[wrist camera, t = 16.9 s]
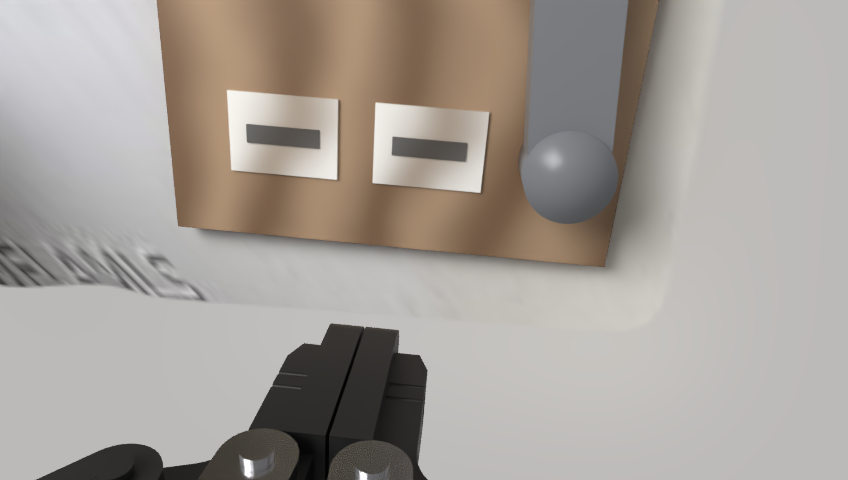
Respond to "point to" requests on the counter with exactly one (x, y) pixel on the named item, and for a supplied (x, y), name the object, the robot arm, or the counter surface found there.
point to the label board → (371, 123)
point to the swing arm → (572, 107)
